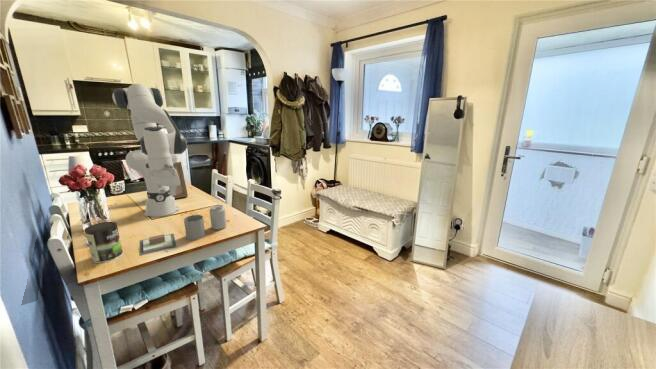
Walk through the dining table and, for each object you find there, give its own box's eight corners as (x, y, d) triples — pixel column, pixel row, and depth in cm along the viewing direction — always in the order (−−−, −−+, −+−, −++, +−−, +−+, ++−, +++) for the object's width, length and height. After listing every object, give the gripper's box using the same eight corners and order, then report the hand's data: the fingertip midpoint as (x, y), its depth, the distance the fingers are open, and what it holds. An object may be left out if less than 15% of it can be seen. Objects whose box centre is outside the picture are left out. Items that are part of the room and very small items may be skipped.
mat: (139, 241, 124) (139, 240, 124) (173, 234, 132) (173, 233, 132) (139, 256, 112) (139, 255, 112) (176, 247, 119) (176, 246, 119)
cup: (197, 241, 125) (195, 222, 122) (182, 239, 127) (179, 220, 124) (208, 233, 133) (206, 215, 130) (194, 232, 135) (192, 214, 132)
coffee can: (129, 250, 117) (122, 221, 113) (112, 263, 107) (105, 231, 103) (104, 250, 116) (97, 221, 112) (85, 263, 106) (77, 232, 102)
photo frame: (188, 197, 187) (183, 163, 180) (152, 204, 172) (145, 167, 166) (182, 192, 197) (177, 160, 190) (148, 198, 183) (141, 163, 176)
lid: (143, 241, 123) (142, 235, 122) (170, 236, 129) (169, 229, 128) (143, 252, 114) (142, 245, 114) (172, 245, 120) (171, 238, 120)
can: (217, 231, 135) (215, 210, 132) (208, 228, 139) (206, 207, 136) (229, 226, 142) (227, 205, 138) (220, 223, 145) (218, 203, 142)
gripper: (180, 164, 112) (186, 195, 115) (158, 162, 123) (164, 190, 126) (165, 166, 107) (172, 199, 110) (143, 164, 118) (149, 193, 121)
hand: (167, 194), depth 118 cm, fingers open, 8 cm apart
